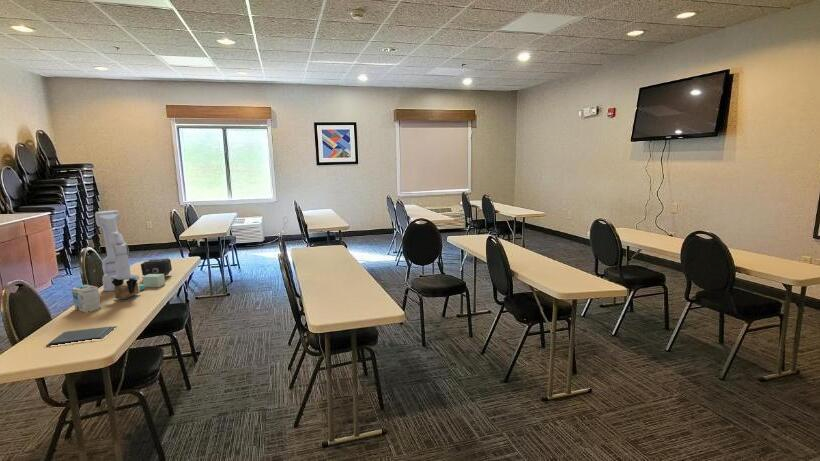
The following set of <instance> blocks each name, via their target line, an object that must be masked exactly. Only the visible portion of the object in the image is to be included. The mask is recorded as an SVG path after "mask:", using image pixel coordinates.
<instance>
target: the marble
mask: <svg viewBox="0 0 820 461" xmlns="http://www.w3.org/2000/svg"><path fill="white" fill-rule="evenodd" d="M138 288H139V289H140V290H139V291H144V290H145V289H146V287H145V286H144V285H143V284H140V285H138Z"/></svg>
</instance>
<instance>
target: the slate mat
mask: <svg viewBox="0 0 820 461" xmlns="http://www.w3.org/2000/svg"><path fill="white" fill-rule="evenodd" d="M140 296H141V295H140V294H136V295H134V296H131V297H129V298H126V299H116V298H115V299H114V300H113V302H130V301H132V300H134V299H136V298H138V297H140Z"/></svg>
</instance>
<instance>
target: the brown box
mask: <svg viewBox="0 0 820 461" xmlns="http://www.w3.org/2000/svg"><path fill="white" fill-rule="evenodd" d="M138 287H139V284H138V281H137V283H136V285H135V290H134V293H132V294H130V292H129V287H128V285H127V283H126V282H125V283H124V284H122V285H119V286H116V287H114V289H115V291H114V295H115V299H126V298H129V297H131V296H134V295H140V290H139V291H138Z"/></svg>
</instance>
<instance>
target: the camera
mask: <svg viewBox="0 0 820 461" xmlns="http://www.w3.org/2000/svg"><path fill="white" fill-rule="evenodd" d="M171 261H172V260H171V259H170V258H160V259H158V258H157V259H149V260H148V261H147V260H146V261H143V262H142V263H140V269H141V274H142V276H145V275H148V274H164V277H166V276H168V275H169V274H170V272H172V269H173V268H172V262H171Z"/></svg>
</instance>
